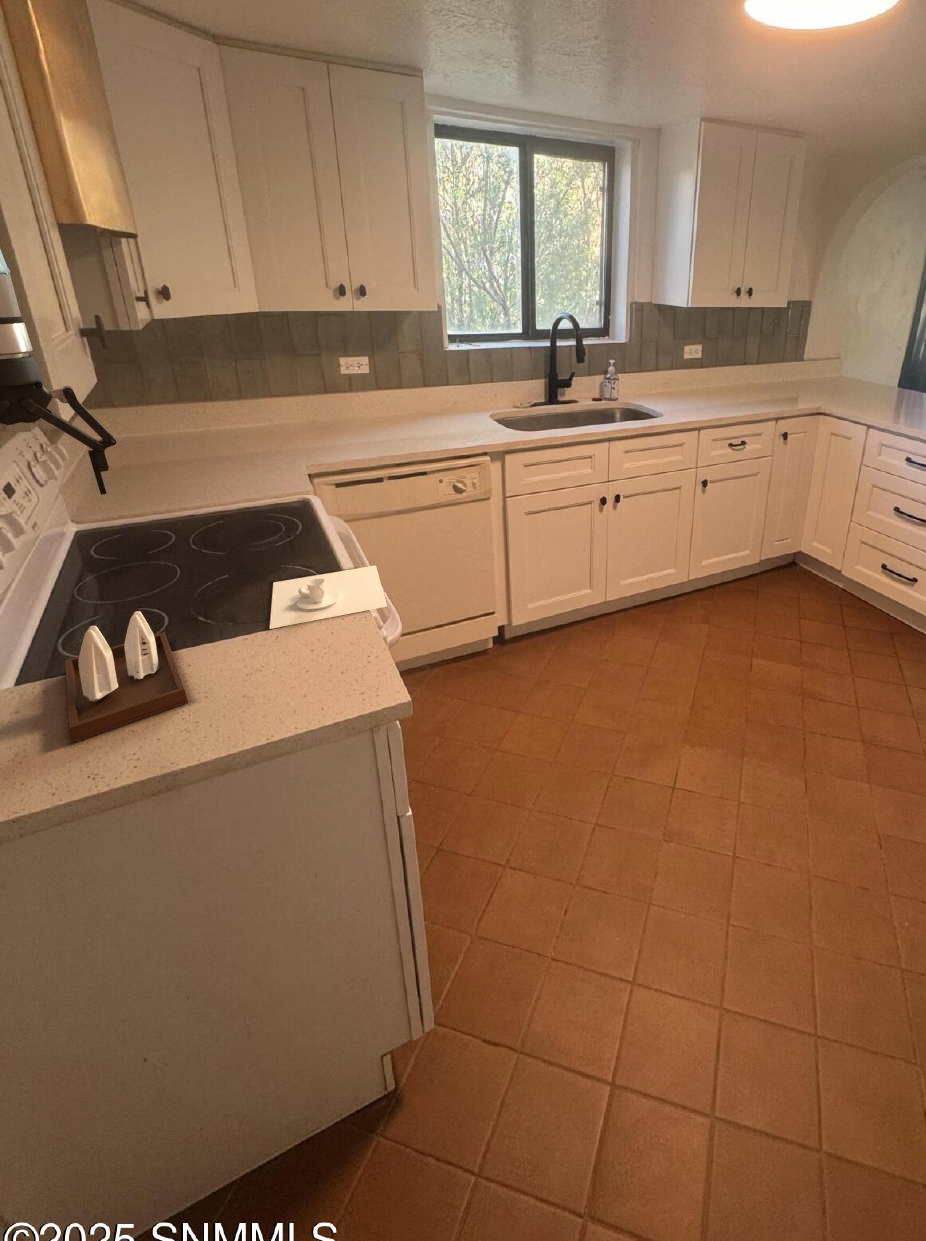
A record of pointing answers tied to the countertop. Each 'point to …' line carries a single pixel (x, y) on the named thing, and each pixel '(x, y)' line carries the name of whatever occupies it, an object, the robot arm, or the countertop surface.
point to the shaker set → (100, 663)
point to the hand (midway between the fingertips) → (46, 501)
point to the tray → (124, 694)
